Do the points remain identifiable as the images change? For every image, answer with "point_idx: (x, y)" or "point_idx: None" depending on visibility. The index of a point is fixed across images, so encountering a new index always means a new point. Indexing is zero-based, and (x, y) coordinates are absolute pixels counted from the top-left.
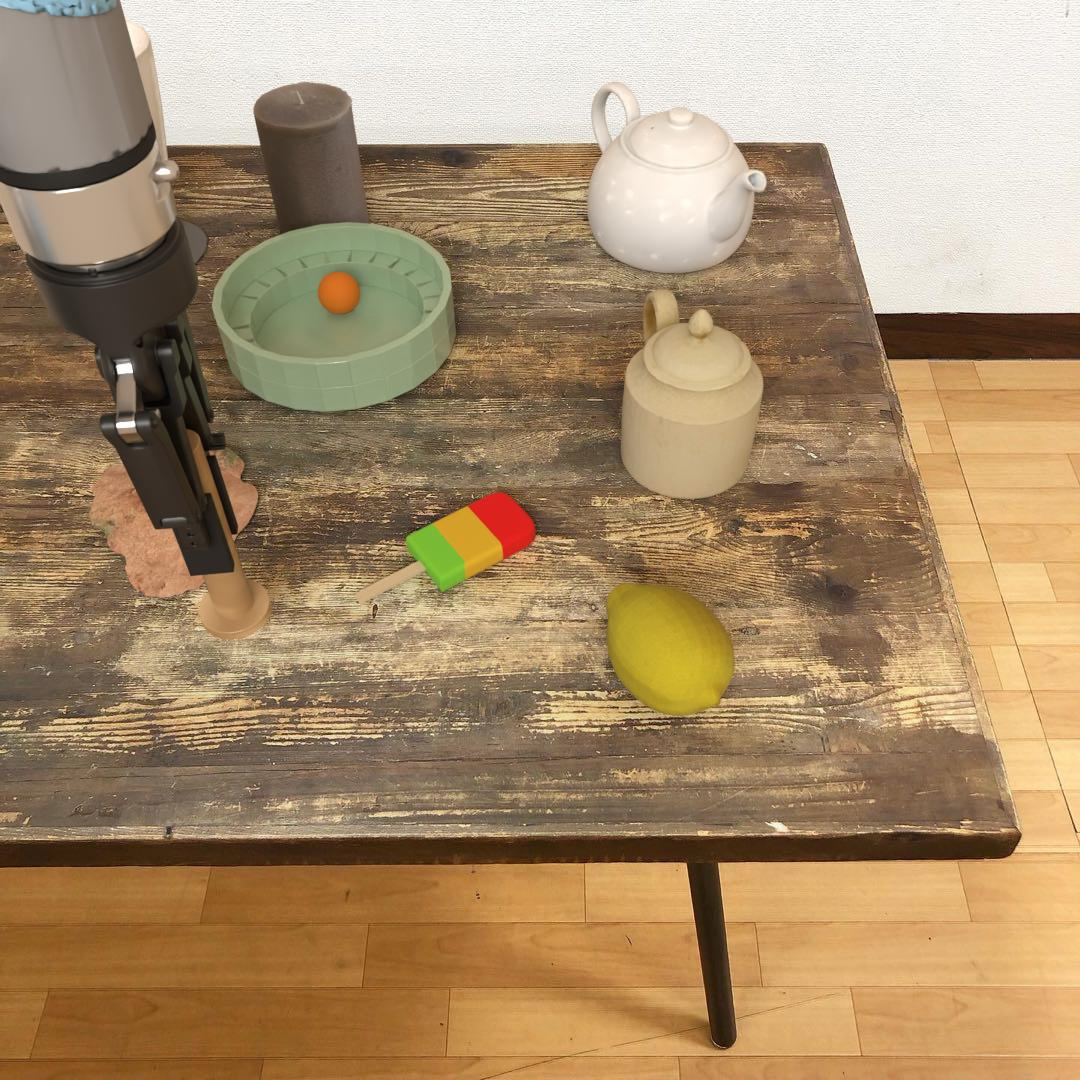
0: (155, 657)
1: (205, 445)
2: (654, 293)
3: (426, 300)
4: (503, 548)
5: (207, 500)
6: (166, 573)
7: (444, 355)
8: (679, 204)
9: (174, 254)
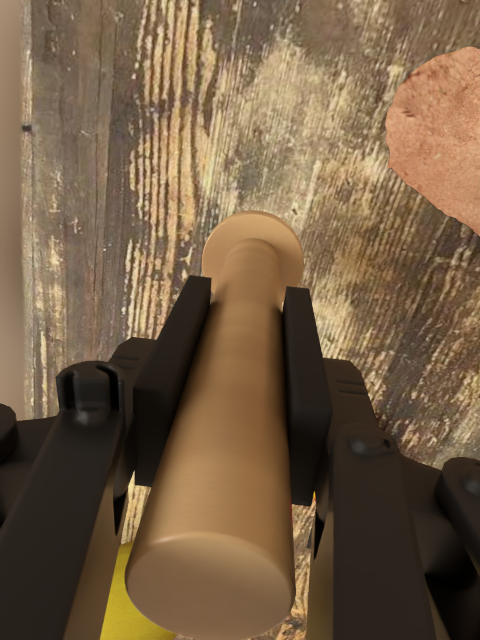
0: (283, 102)
1: (313, 530)
2: None
3: None
4: (314, 498)
5: (140, 480)
6: (431, 119)
7: None
8: None
9: None
